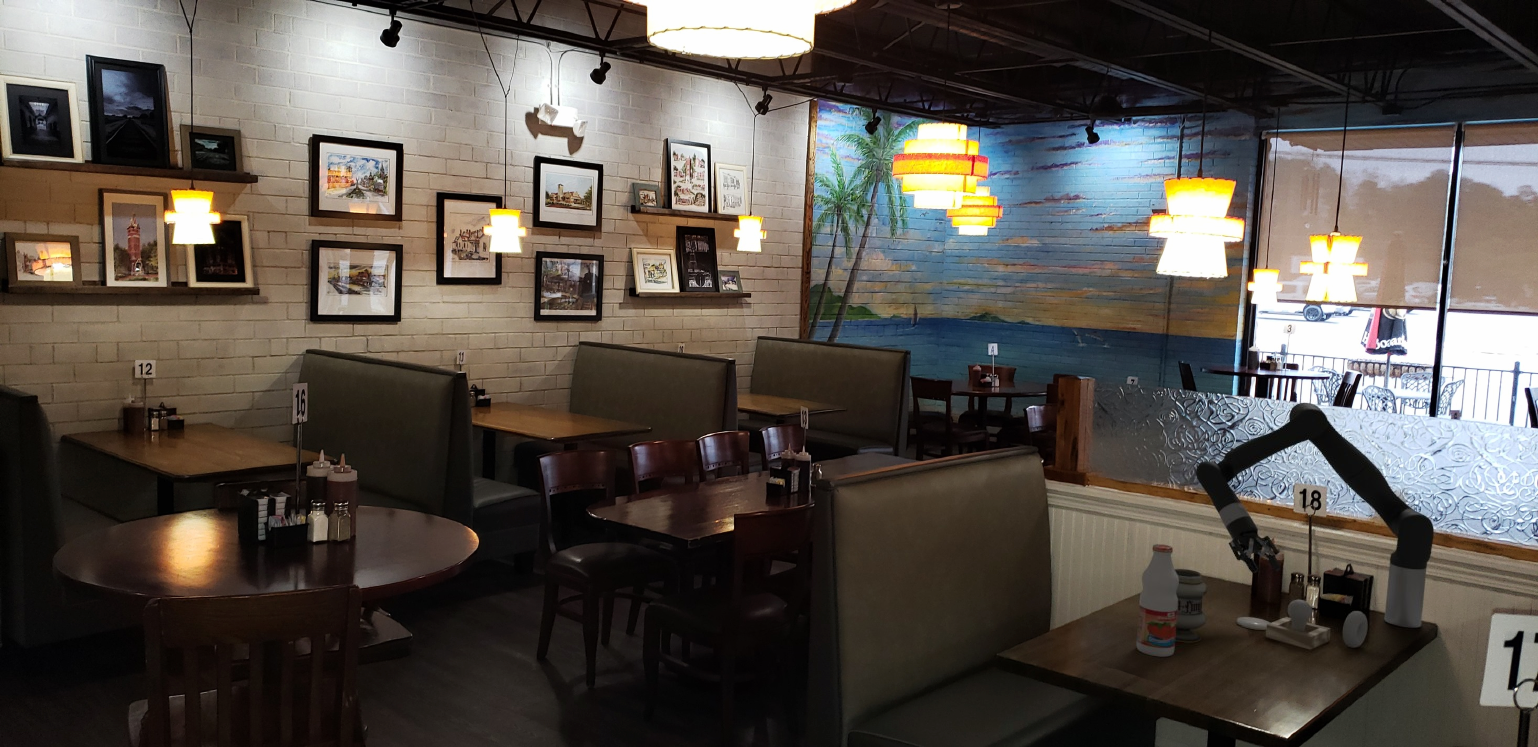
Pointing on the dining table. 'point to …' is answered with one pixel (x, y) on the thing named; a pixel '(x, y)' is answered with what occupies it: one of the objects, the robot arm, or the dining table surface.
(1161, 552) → the fruit juice
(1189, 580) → the apothecary jar
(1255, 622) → the white round part
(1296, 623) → the lightbulb
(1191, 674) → the dining table surface
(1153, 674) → the dining table surface
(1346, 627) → the donut
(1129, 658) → the dining table surface
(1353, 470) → the robot arm
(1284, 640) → the pocket
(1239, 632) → the dining table surface
